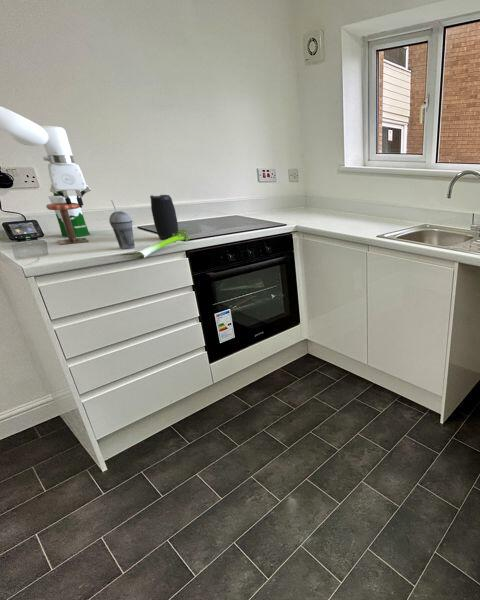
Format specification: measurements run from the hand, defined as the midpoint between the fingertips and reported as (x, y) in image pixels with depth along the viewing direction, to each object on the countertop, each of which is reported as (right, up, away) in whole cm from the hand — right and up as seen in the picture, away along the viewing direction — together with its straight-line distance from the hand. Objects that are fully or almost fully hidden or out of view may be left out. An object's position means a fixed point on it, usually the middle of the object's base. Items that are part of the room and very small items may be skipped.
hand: (76, 207), depth 146 cm
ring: (-3, 0, -3) cm, 4 cm away
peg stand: (-3, -15, +3) cm, 16 cm away
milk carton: (-17, -9, +18) cm, 26 cm away
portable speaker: (+27, -10, +19) cm, 34 cm away
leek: (+38, -18, 0) cm, 42 cm away
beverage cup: (+25, -19, -4) cm, 32 cm away
